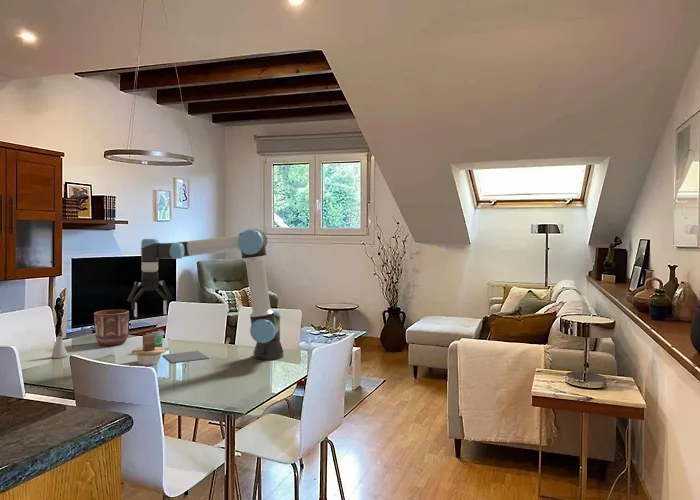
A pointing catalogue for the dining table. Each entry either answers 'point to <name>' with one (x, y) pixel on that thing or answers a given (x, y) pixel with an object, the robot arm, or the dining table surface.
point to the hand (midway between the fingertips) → (150, 315)
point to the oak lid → (148, 347)
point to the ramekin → (149, 359)
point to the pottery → (111, 327)
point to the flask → (59, 349)
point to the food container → (157, 337)
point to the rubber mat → (185, 356)
